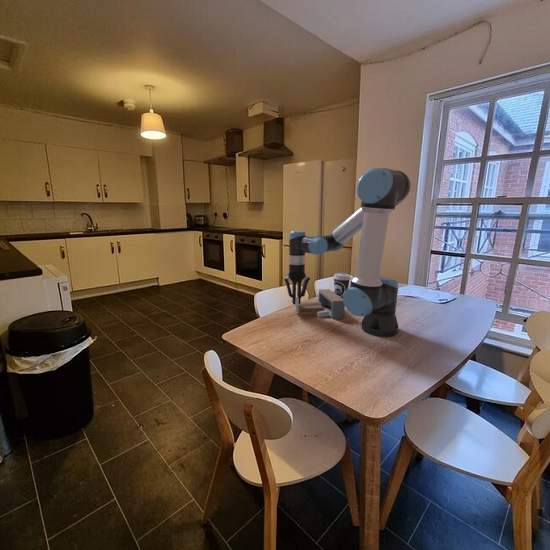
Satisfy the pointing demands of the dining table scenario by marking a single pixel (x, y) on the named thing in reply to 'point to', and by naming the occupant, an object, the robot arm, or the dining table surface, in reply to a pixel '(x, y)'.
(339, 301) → the bridge shelf
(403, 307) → the dining table surface
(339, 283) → the coffee cup
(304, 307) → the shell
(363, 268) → the robot arm
